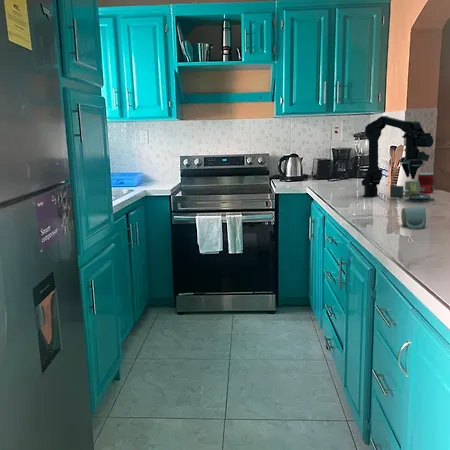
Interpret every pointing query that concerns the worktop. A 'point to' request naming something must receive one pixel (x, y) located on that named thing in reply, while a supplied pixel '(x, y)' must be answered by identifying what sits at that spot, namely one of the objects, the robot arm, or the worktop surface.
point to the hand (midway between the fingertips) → (410, 178)
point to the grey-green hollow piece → (407, 186)
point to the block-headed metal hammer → (397, 191)
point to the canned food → (426, 182)
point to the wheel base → (420, 200)
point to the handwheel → (419, 195)
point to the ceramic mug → (414, 217)
